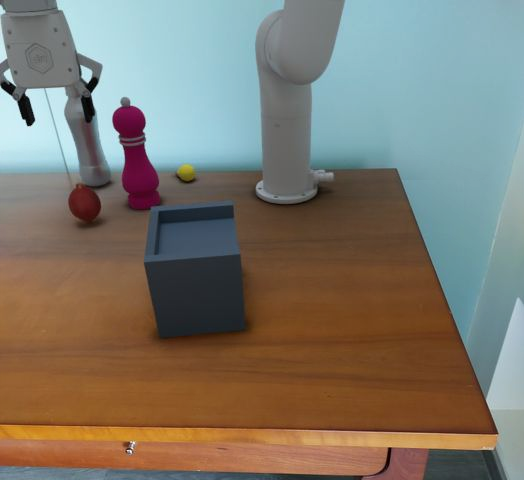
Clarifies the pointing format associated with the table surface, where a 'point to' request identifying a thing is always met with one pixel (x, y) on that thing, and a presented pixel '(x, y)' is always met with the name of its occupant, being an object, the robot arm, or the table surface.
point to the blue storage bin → (194, 269)
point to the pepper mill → (135, 157)
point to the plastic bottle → (86, 141)
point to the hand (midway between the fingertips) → (60, 122)
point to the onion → (84, 203)
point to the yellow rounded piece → (185, 172)
